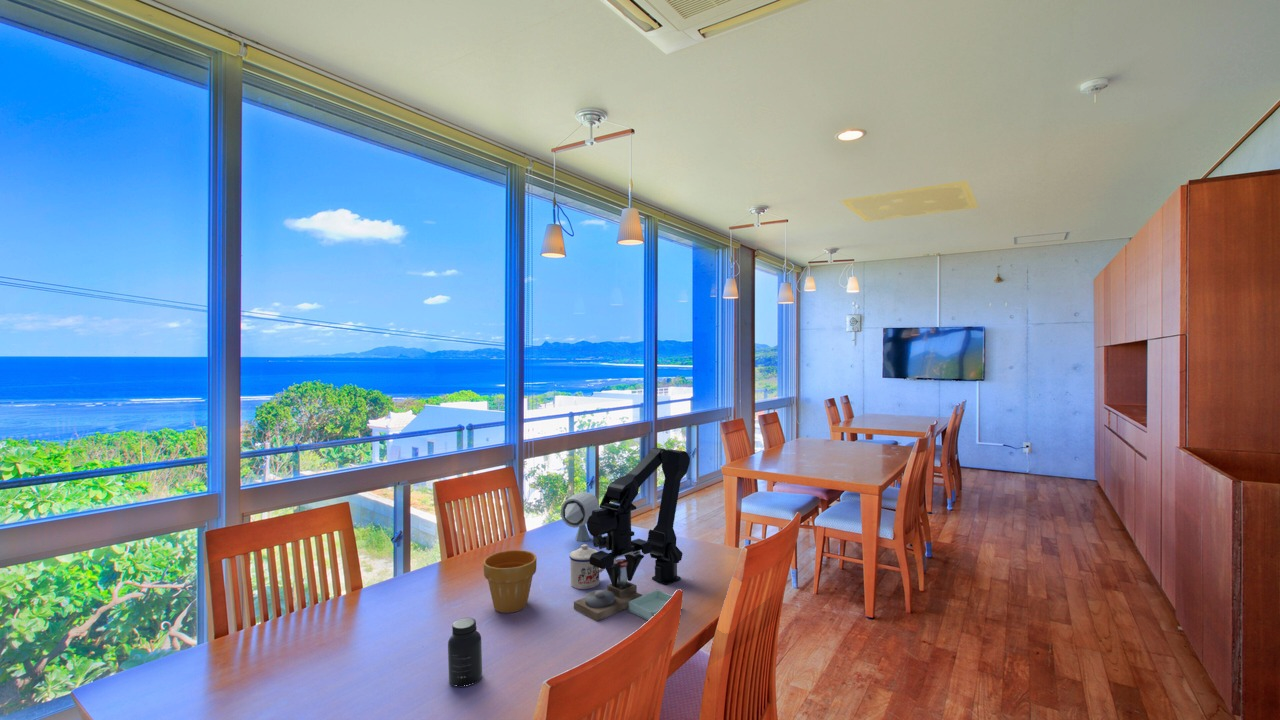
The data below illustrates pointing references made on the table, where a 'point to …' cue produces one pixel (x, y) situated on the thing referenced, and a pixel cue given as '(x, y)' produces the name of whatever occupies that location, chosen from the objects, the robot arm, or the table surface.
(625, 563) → the pin
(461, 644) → the supplement bottle
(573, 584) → the teacup with lid
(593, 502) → the jet engine
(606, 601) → the block
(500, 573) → the flower pot
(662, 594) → the tray
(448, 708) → the table surface
